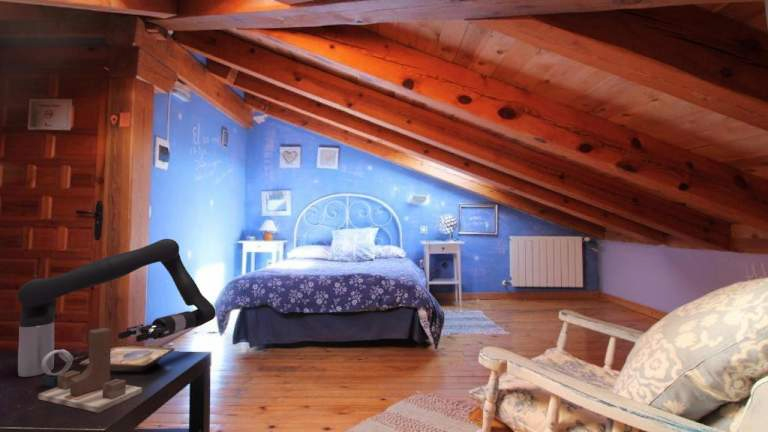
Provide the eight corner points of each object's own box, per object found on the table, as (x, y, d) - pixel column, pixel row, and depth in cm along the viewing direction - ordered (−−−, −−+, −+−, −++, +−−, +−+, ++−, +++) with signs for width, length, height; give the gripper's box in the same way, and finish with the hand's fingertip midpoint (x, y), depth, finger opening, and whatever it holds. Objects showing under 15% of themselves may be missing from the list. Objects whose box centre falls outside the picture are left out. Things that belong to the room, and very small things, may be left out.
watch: (76, 380, 125) (76, 347, 125) (47, 390, 117) (47, 355, 117) (66, 377, 127) (66, 345, 127) (37, 387, 119) (37, 353, 119)
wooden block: (74, 397, 109) (75, 336, 109) (69, 393, 111) (70, 334, 111) (110, 386, 116) (111, 329, 116) (104, 382, 119) (105, 327, 119)
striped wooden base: (38, 399, 111) (38, 380, 111) (84, 381, 124) (84, 364, 124) (98, 412, 103) (98, 393, 103) (141, 392, 115) (141, 374, 116)
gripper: (155, 313, 143) (113, 324, 127) (183, 317, 138) (143, 328, 123) (155, 333, 143) (112, 346, 127) (183, 337, 138) (142, 351, 123)
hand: (127, 337), depth 125 cm, fingers open, 8 cm apart
